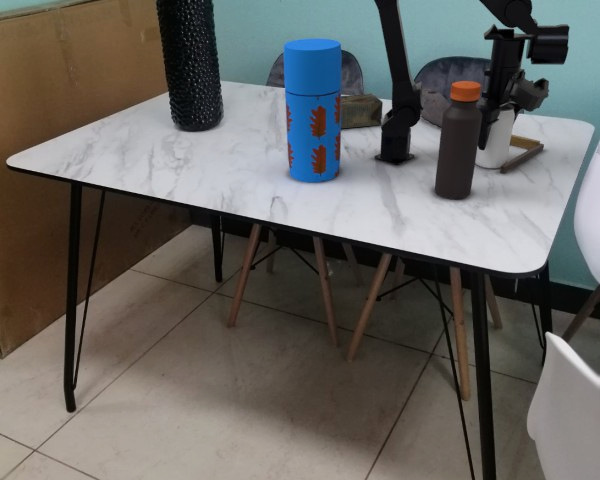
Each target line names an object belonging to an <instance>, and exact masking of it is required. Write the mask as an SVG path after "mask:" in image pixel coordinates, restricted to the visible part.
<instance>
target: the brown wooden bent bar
mask: <svg viewBox="0 0 600 480" xmlns="http://www.w3.org/2000/svg"><path fill="white" fill-rule="evenodd" d="M510 145H511V146H515V147H518V148H523V149H527V150H526V151H524V152H522V153H520V154H519V155H517V156H515V157H514V158H512V159H510V160H509V161H506V163H505V164H503V165H502V166H501V168H499V169H500V170H499V173H500V174H504V175H505V174H507V173H508V172H510V171H512V170H513V169H515V168H516V167H518V166H520V165H521V164H524V163H525V162H527V161H528V160H530V159H532V158H533V157H535V156H537V155H538V154H540V153H541V152H543V151H544V147H545V143H541V140H537V139H533V138H529V137H525V136H521V135H517V134H511V139H510V144H509V146H510Z"/></svg>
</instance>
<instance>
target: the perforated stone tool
mask: <svg viewBox="0 0 600 480" xmlns="http://www.w3.org/2000/svg"><path fill="white" fill-rule="evenodd" d="M422 95H423V97H424V99H425V104H424V109H423V110H422V111H421V116H420V117H422V118H423V119H424V120H426V121H428V122H429V123H431V124H433V125H436V126H438V127H440V128H441V127H442V118H443V113H444V111H445V110H446V109H447V108H448V107H450V106H451V104H450V102H449V101H448V99H446V97H445V96H444V95H443V94H441V92H439V91H437V90H435V89H433V88H431V87H424V88H423V87H422Z"/></svg>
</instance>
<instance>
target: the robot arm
mask: <svg viewBox="0 0 600 480" xmlns="http://www.w3.org/2000/svg"><path fill="white" fill-rule="evenodd" d="M478 1H479V2H480V3H481V4H482V5H483V6H484V7H485V8H486V9H487V10H488V11H489V12H490V13H491V14H492V16H494V17H495V19H496V20H498V22H500V23H501V24H502V25H503V26H504V27H506V28H498V26H497V25H496V24H495V23H493V24H492V25H491V26H490V28H489V29H488V30H486V31H485V32H483V39H484V41H492V47H491V53H490V62H489V68H487V69H485V70H484V74H483V76H484V77H487V83H486V90H484V91H481V94H480V97H481V98H479V101H478V102H477V104H476V106H477V108H478V109H479V110H480V112H481V113H482V120H481V127H480V134H479V140H478V148H479V150H485V147H486V144H487V141H488V137H489V133H490V130H491V126H492V125H493V124H495V123H496V122H497V121H498V120H499V119H497V118H498V116H499V114H500V109H501V107H502V106H504V105H506V104H511V105H513V106H514V109H513V110H514V114H515V118H514V123H513V126H514V124H515V122H516V121H517V118H518V117H519V114H520V113H521V112H522V111H523V110H524V111H526V112H529V113H532V112H534V111H535V110H536V109H540V108H541V105H542V104H543V102H544V100H545V99H547V98H549V93H550V90H549V86H550V85H549V84H550V81H549V80H548V79H547V78H545V77H541V78H539V79H537V80H536V81H534V80H528V79H526V71H525V68H522V62H523V57H524V50H526V51H525V59H526V60H530V64H531V65H539V66H541V65H545V66H546V65H552V66H553V65H554V66H555V65H556V66H557V65H558V66H563V65H565V63H566V60H567V57H568V53H569V40H570V39H569V37H570V35H569V31H570V29H571V27H570V26H569V24H567V23H562V24H561V23H559V24H557V25H556V24H555V25H539V23H538V21H537V19H536V18H533V16H532V13H533V2H532V0H478ZM373 2H374V4H375V6H376V8H377V10H378V16H379V21H380V25H381V31H382V37H383V41H384V46H385V52H386V57H387V62H388V63H387V64H388V67H389V68H388V69H389V72H390V78H391V109H389V110H388V111H387V112H386V113H385V114H384V118H383V119H382V122H381V125H380V130H381V133H380V153H378V154H376V155H374V157H373V158H374V160H378V161H381V162H384V163H387V164H390V165H393V166H400V165H402V164H404V163H407V162H408V161H411V160H412V159H415V157H416V155H415V154H412V153H411V152H410V151H411V142H412V141H411V140H412V128H413V127H414V126H416V125H417V124H418V123H419V121H420V119H421V117H422V116H421V111H422V110H423V109H424V104H425V99H424V97H423V95H422V89H423V82H422V81H419V82H417V83H416V82H415V80H414V78H413V75H412V73H411V72H412V71H411V66H410V59H409V54H408V49H407V43H406V37H405V31H404V26H403V21H402V20H403V19H402V15H401V8H400V3H399V0H373ZM515 28H518V29H519V30H520V31H521V32H522V33H515ZM526 41H527V44H526ZM525 44H526V49H525Z"/></svg>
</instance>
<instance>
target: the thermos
mask: <svg viewBox="0 0 600 480" xmlns="http://www.w3.org/2000/svg"><path fill="white" fill-rule="evenodd" d="M342 54H343V53H342V44H341V42H340V41H338V40H335V39H329V38H303V39H302V38H301V39H296V40H291V41H288V42H285V43H283V55H282V56H283V76H284V77H283V78H284V97H285V98H284V101H285V121H286V143H287V146H286V147H287V160H288V169H289V176H290V177H291V178H292V179H294V180H297V181H299V182H304V183H323V182H328V181H331V180H334V179H335V178H337V177H338V176H339V174H340V170H341V156H342V155H341V149H342V146H341V145H342V144H341V143H342V139H341V138H342V128H341V96H342V61H343V59H342V57H343V55H342Z"/></svg>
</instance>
